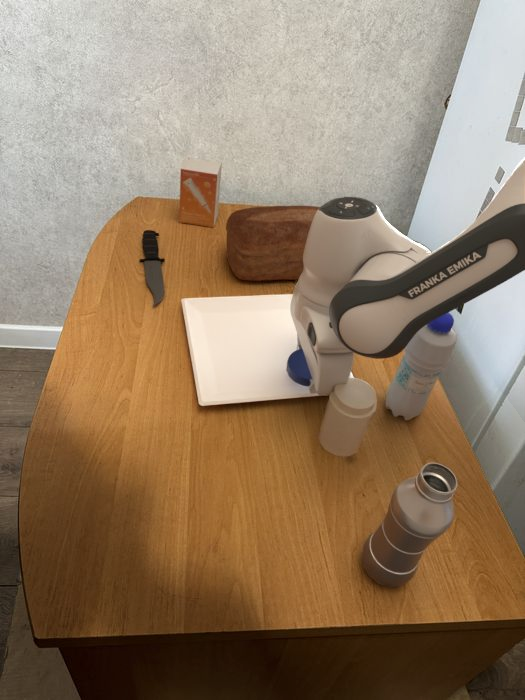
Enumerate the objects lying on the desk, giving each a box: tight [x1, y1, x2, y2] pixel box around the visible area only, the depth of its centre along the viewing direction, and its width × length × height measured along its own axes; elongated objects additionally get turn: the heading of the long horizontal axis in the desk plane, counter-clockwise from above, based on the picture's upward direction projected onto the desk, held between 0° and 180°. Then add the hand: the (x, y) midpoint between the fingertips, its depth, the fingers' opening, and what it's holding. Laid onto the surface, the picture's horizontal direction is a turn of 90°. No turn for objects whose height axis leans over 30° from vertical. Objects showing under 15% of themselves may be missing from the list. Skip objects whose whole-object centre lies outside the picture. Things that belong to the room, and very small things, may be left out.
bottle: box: [385, 312, 458, 421], centre depth 80 cm, size 7×7×20 cm
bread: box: [225, 205, 321, 282], centre depth 109 cm, size 14×28×12 cm, turn 105°
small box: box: [178, 156, 223, 229], centre depth 118 cm, size 8×6×13 cm
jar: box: [317, 377, 377, 457], centre depth 77 cm, size 7×7×10 cm
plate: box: [180, 293, 355, 407], centre depth 92 cm, size 26×26×2 cm
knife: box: [139, 229, 165, 307], centre depth 105 cm, size 25×2×5 cm
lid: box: [286, 349, 312, 386], centre depth 85 cm, size 7×7×2 cm
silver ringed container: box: [361, 462, 458, 588], centre depth 59 cm, size 6×7×20 cm
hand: (307, 371), depth 86 cm, fingers closed on lid, 7 cm apart
